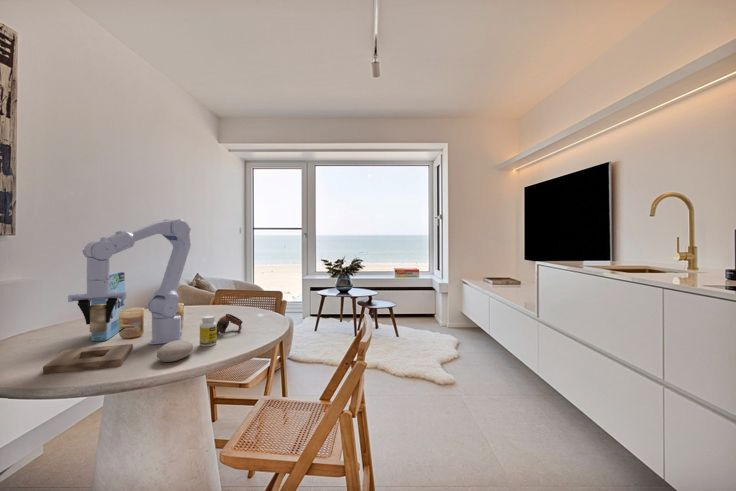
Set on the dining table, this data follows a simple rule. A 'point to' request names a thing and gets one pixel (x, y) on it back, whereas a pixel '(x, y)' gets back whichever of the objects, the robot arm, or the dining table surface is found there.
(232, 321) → the brown arch
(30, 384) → the dining table surface
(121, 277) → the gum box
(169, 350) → the decorative stone
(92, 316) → the beige wooden cylinder
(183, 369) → the dining table surface
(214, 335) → the supplement bottle
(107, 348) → the carrier board
